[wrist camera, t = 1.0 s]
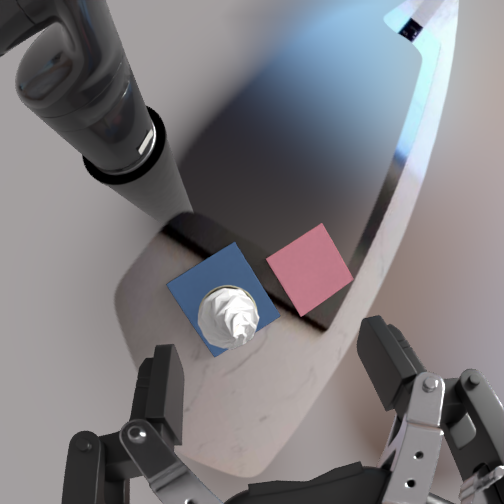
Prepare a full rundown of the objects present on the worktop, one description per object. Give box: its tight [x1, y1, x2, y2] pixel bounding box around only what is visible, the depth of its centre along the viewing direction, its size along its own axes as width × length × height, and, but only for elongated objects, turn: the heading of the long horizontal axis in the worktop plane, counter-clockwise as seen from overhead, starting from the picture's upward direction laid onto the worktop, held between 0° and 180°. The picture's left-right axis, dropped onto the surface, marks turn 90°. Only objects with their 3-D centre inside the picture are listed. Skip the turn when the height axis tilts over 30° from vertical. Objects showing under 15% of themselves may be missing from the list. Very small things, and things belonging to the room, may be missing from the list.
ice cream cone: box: [198, 285, 259, 350], centre depth 25 cm, size 5×5×15 cm
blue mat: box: [166, 242, 280, 357], centre depth 33 cm, size 10×9×1 cm
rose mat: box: [266, 223, 353, 317], centre depth 34 cm, size 8×8×1 cm
